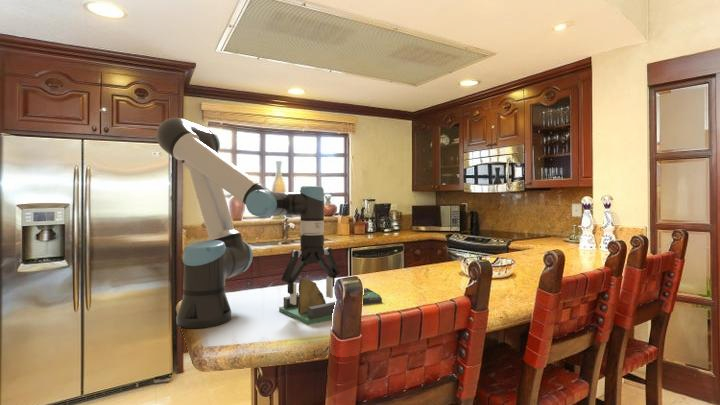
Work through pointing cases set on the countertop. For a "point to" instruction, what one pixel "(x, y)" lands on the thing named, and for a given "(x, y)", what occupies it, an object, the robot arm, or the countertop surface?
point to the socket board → (301, 316)
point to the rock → (309, 295)
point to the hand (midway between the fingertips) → (311, 300)
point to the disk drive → (371, 297)
